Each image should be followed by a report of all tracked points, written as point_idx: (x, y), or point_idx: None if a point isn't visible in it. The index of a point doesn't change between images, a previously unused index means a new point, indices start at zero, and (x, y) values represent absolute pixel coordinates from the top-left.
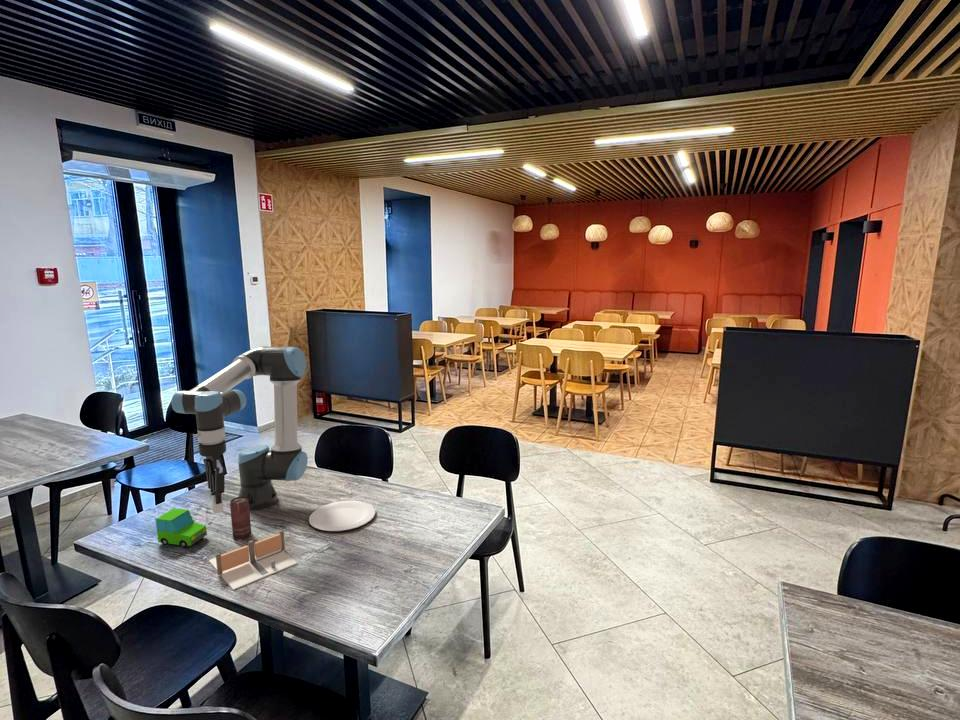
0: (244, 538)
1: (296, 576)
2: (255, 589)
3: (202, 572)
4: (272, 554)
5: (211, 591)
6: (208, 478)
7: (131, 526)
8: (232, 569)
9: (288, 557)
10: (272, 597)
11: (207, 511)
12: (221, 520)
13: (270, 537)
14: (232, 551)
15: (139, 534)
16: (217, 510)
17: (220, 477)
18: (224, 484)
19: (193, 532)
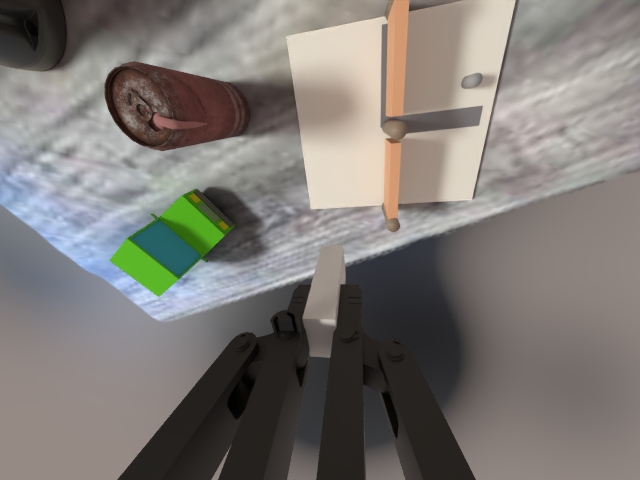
0: (248, 110)
1: (582, 25)
2: (516, 157)
3: (348, 227)
4: None
5: (433, 231)
6: (223, 456)
7: (111, 276)
8: None
9: (456, 11)
10: (597, 132)
11: (62, 154)
12: (120, 136)
13: (399, 47)
14: (394, 188)
15: None
16: (344, 274)
17: None
18: (453, 436)
19: (208, 226)
